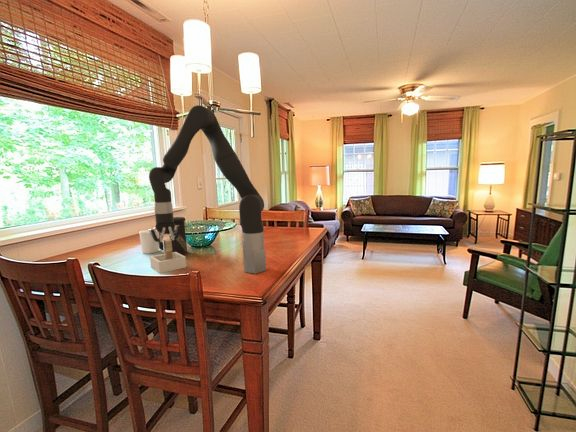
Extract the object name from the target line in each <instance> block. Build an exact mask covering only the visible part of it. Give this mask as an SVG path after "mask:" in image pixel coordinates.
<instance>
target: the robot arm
mask: <svg viewBox="0 0 576 432" xmlns="http://www.w3.org/2000/svg"><path fill="white" fill-rule="evenodd" d="M186 115H187V116H186V118H185V120H184V122H183V124H182V126H181V128H180V130H179V132H178V134H177V136H176V137H175V140H174V141H173V143H172V144H171V145H170V147H169V149H167V151H166V153H165V154H164V155H163V157H162V161H163V165H162V166H160V167H159V166H158V167H155V166H154V167H152V168H151V169H150V171H149V173H148V180H149V183H150V186H151V189H152V191H153V198H154V216H155V217H154V219H155V226H154V227H152V228H149V231H150V233H151V235H152V237H153V239H154V241H156V242H159V250H161V251H164V237H165V236H166V235H168V237H169V239H170V240H171V242H172V248H173V247H174V240H175V239H176V238H178V236H179V232H180V229H181V226H179V225H175V224H174V219H173V217H174V208H173V203H172V202H173V201H172V193H171V190H170V189H169V188H167V186H166V184H167V183H169V182H171V181H172V180H173V178H174V177H175V174H176V172H177V170H178V167H179V165H180V164H181V163H182V162H183V160H184V159H185V157H186V156H187V153H188V152H189V148H190V146H191V145H190V144H191V143H192V140H193V138H194V137H195V135H196V134H197V133H198V132H199V131H200V130H201V132H202V133H203V135H204V136H205V137H206V138H207V140H208V142H209V144H210V147H211V150H212V151H211V152H212V155H213V156H212V157H213V159H214V161H215V163H216V165H217V167H218V169H219V170H220V173H222V175H223V176H224V178H226V180H227V181H228V182H229V183H230V184H231V185H232V186H233V187H234V188H235V190H236V191H237V193H238V194H239V197H240V198H241V199H240V202H239V205H238V206H239V207H238V208H239V209H238V210H239V221H240V222H239V223H240V227H241V232H242V233H241V234H242V235H241V236H242V237H241V238H242V257H243V258H242V261H243V272H245V273H248V274H253V275H254V274H255V275H256V274H259V273H262V272H266V271H267V255H266V249H265V236H264V233H265V231H264V224H263V223H262V212H263V211H264V208H265V201H264V199H263V197H262V196H261V195H260V193H259V192H258V190H257V189H256V187H255V186H254V184H253V183H252V182H251V179H250V178H249V176H248V174H247V172H246V170H245V168H244V166H243V165H242V163H241V161H240V159H239V157H238V155H237V154H236V152H235V150H234V149H233V147H232V145H231V143H230V141H228V139H227V138H226V135H225V134H224V132H223V130H222V128H221V126H220V122H218V119H217V117H216V114H215V113H214V111H212V110H211V109H209V108H208V107H205V106H203V105H197V104H196V105H194V106H192V107H191V109H190V110H189V111H188V113H187V114H186ZM174 227H175V233H174V236H173V232H172V230H173V229H174ZM156 230H157V231H158V238H157V236H156V234H155V233H156Z"/></svg>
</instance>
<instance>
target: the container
mask: <svg viewBox="0 0 576 432" xmlns="http://www.w3.org/2000/svg"><path fill="white" fill-rule="evenodd" d="M173 219H174V224H175V225H179V226H181V229H180V232H179V236H178V238H176V239H175V240H174V247H173V248H172V252H177V253H179V254H181V255H183V256H185V255H187V254H188V247H187V246H188V245H187V244H188V243H187V235H186V234H187V233H186V223H185V221H186V218H185V217H184V216H175V217H174V216H173ZM172 232H173V236H174V233H175V227H174V229H173V230H172Z"/></svg>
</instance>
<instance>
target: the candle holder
mask: <svg viewBox="0 0 576 432" xmlns="http://www.w3.org/2000/svg"><path fill="white" fill-rule="evenodd" d="M149 229H150V228H149ZM149 229H143V230H140V231H138V233H139V240H140V246H141V252H142V254H155V253H158V252H159V251H160V249H159V242H156V241H154V239H153V237H152V235H151V233H150V231H149ZM155 234H156V236H157V238H159V236H158V235H159V232H158V231H157V230H156V233H155Z"/></svg>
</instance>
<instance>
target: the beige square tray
mask: <svg viewBox="0 0 576 432" xmlns="http://www.w3.org/2000/svg"><path fill="white" fill-rule="evenodd" d="M172 254H173V259H168V260H165V253H163V254H157V255H151V256H149V260H150V261H149V262H150V268H151V269H153V270H155V271H156V272H158V273H159V274H162V273H165V272H166V273H167V272H171V271H175V270H179V269H184V268H187V256H185V255H181V254H179V253H177V252H172Z"/></svg>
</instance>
